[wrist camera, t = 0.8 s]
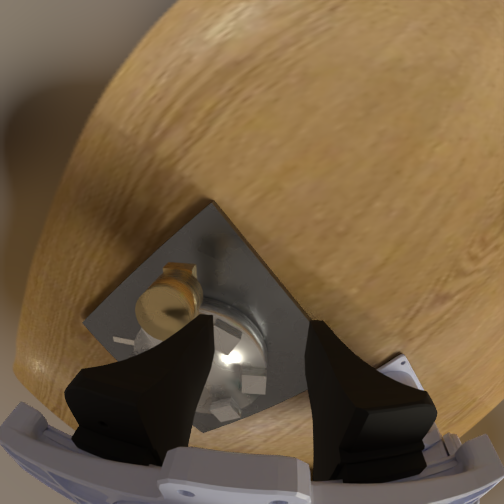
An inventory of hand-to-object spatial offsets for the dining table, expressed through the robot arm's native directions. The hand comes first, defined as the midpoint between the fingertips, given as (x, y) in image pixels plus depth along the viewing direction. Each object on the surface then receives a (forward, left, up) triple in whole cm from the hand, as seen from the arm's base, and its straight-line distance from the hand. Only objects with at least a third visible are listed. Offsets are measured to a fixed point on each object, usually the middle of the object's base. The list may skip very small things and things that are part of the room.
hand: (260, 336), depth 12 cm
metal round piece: (-1, +8, -8) cm, 11 cm away
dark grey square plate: (-3, +9, -9) cm, 13 cm away
